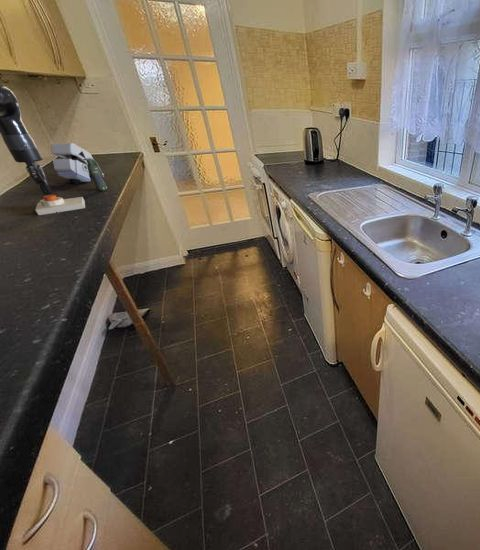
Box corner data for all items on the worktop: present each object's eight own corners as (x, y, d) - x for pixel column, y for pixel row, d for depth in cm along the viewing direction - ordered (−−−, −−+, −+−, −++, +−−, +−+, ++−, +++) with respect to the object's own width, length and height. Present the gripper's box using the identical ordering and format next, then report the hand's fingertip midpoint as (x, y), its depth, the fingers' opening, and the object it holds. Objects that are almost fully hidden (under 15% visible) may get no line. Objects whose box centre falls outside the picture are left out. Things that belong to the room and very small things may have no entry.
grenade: (102, 192, 142) (87, 159, 134) (95, 191, 142) (80, 158, 135) (111, 189, 145) (97, 157, 138) (104, 189, 146) (89, 156, 138)
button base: (38, 215, 114) (32, 205, 112) (40, 207, 121) (35, 198, 119) (85, 208, 122) (80, 198, 120) (84, 201, 129) (80, 192, 127)
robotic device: (105, 192, 166) (103, 157, 167) (73, 177, 145) (71, 138, 146) (84, 193, 164) (83, 158, 165) (49, 178, 143) (47, 138, 144)
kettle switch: (45, 202, 116) (42, 198, 116) (45, 200, 119) (43, 195, 118) (57, 200, 118) (55, 196, 118) (58, 198, 121) (55, 194, 120)
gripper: (10, 146, 111) (37, 192, 120) (5, 150, 102) (33, 199, 111) (38, 144, 115) (61, 189, 124) (35, 148, 106) (60, 196, 115)
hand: (48, 194), depth 117 cm, fingers closed
